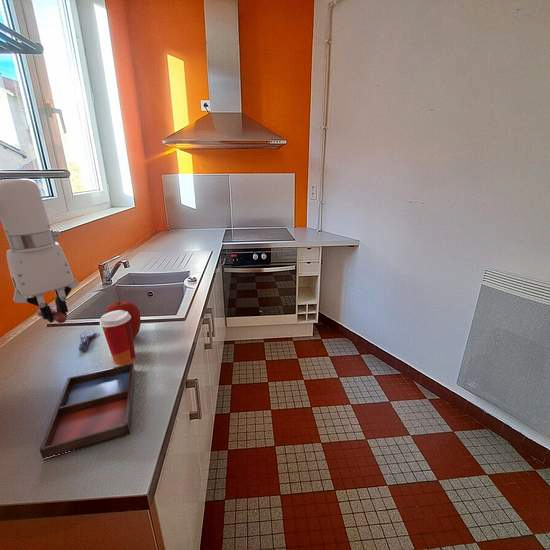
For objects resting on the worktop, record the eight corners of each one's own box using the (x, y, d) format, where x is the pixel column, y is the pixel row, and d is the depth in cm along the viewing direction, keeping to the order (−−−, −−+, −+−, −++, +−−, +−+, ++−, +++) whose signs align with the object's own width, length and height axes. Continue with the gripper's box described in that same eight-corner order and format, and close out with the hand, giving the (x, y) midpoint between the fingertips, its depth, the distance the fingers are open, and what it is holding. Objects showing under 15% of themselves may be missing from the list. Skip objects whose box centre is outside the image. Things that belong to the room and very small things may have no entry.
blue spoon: (91, 351, 90) (89, 345, 90) (74, 354, 89) (72, 348, 88) (97, 332, 101) (95, 326, 100) (82, 334, 99) (80, 329, 99)
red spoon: (75, 319, 69) (72, 312, 68) (52, 328, 65) (50, 319, 65) (56, 306, 76) (54, 299, 75) (35, 313, 72) (32, 305, 72)
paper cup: (127, 348, 91) (117, 307, 86) (145, 354, 88) (136, 312, 83) (103, 363, 85) (91, 319, 80) (122, 370, 81) (110, 325, 76)
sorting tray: (43, 460, 57) (39, 450, 56) (70, 386, 76) (67, 377, 75) (130, 434, 62) (127, 424, 61) (135, 371, 81) (133, 362, 80)
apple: (151, 333, 99) (143, 295, 94) (125, 350, 90) (115, 308, 86) (129, 327, 103) (120, 290, 98) (102, 342, 95) (92, 302, 90)
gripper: (67, 231, 71) (87, 302, 78) (-23, 246, 60) (9, 328, 66) (80, 235, 67) (99, 309, 73) (-14, 252, 55) (19, 338, 62)
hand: (56, 317), depth 69 cm, fingers closed on red spoon, 2 cm apart
